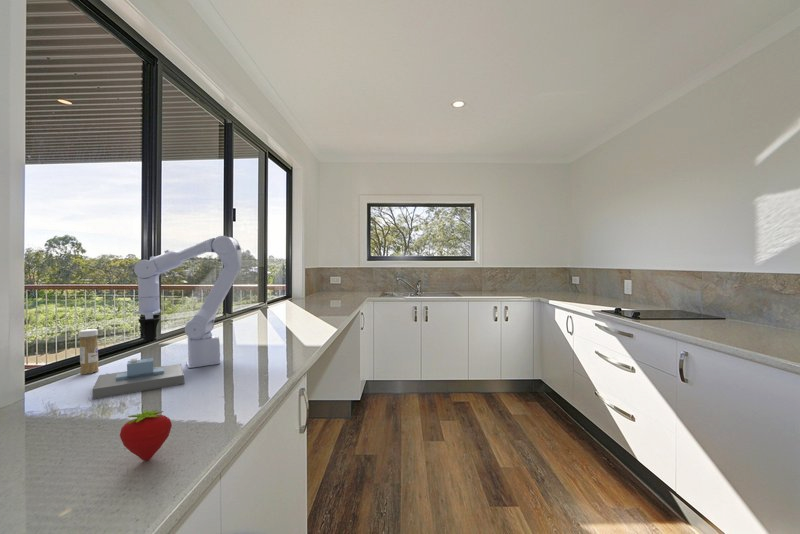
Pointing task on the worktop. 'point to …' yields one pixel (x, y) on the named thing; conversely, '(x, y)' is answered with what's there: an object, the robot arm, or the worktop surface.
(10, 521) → the worktop surface
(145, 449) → the strawberry
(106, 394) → the mounting plate
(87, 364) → the sprinkles bottle
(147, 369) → the block
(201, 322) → the robot arm
